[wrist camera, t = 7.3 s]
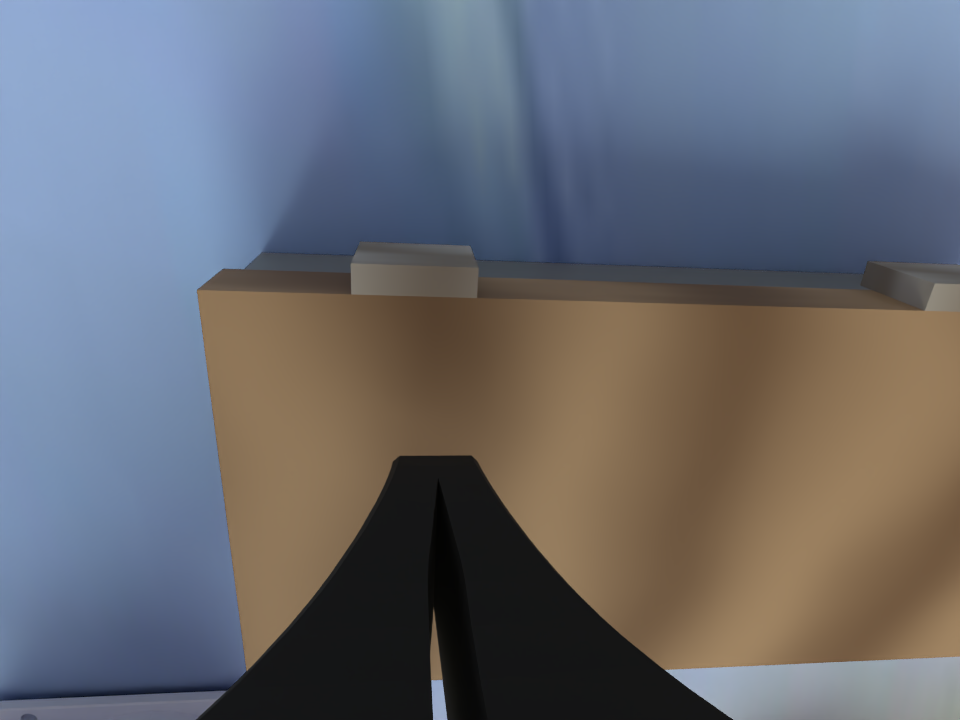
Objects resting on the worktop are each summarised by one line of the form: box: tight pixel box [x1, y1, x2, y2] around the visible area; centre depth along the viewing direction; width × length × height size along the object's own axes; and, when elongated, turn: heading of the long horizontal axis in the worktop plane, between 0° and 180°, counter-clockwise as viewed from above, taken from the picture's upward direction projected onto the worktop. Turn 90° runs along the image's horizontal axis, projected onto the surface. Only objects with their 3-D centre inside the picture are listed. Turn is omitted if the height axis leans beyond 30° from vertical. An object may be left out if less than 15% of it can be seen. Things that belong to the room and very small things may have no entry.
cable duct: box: [245, 252, 871, 290], centre depth 17 cm, size 20×10×3 cm, turn 86°
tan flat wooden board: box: [197, 242, 960, 680], centre depth 15 cm, size 20×11×2 cm, turn 86°
